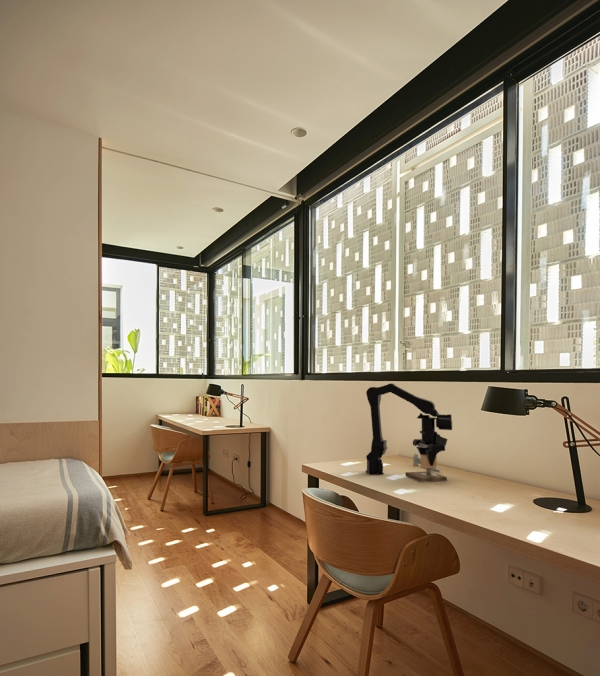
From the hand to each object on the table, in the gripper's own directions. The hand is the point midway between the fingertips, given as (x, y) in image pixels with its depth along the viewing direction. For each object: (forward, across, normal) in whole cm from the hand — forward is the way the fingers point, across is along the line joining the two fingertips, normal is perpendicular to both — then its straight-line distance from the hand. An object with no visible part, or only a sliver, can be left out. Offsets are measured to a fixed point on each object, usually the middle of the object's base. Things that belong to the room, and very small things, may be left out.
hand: (428, 464), depth 204 cm
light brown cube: (+1, 0, 0) cm, 1 cm away
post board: (+6, 0, +1) cm, 6 cm away
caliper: (+6, +20, -10) cm, 23 cm away
